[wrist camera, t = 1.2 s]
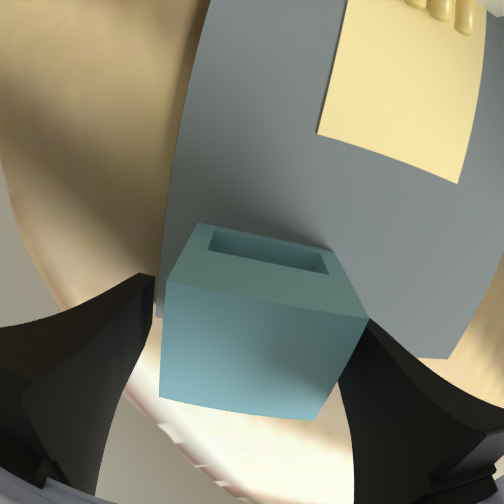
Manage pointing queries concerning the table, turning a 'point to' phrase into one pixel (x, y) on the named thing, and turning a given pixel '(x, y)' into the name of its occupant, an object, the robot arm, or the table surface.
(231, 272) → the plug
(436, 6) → the header
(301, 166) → the mat
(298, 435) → the table surface
